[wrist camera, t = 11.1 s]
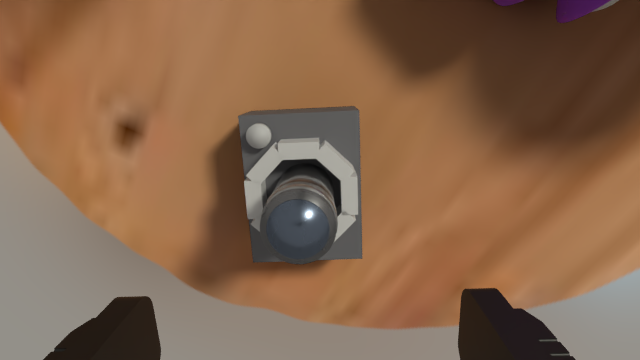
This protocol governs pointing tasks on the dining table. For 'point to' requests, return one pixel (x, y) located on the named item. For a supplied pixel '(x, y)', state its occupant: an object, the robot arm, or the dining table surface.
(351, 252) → the camera body
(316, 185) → the lens
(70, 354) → the robot arm
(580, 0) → the toy camera
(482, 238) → the dining table surface
